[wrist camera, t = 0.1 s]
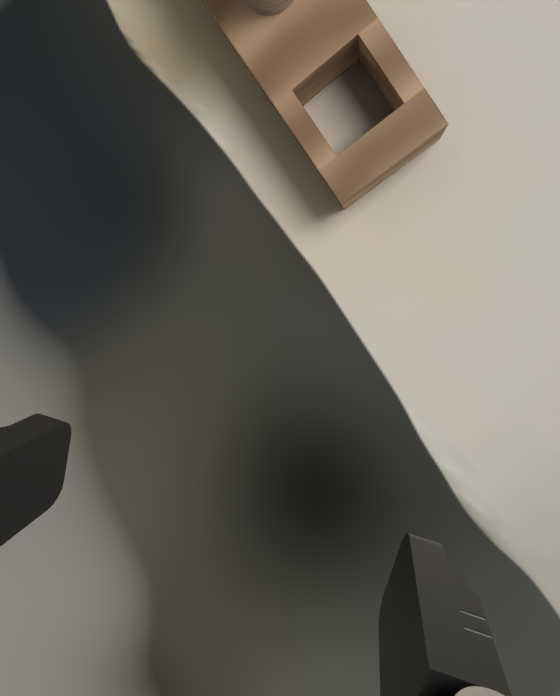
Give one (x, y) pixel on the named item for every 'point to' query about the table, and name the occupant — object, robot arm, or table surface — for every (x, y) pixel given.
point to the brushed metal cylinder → (269, 6)
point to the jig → (320, 70)
